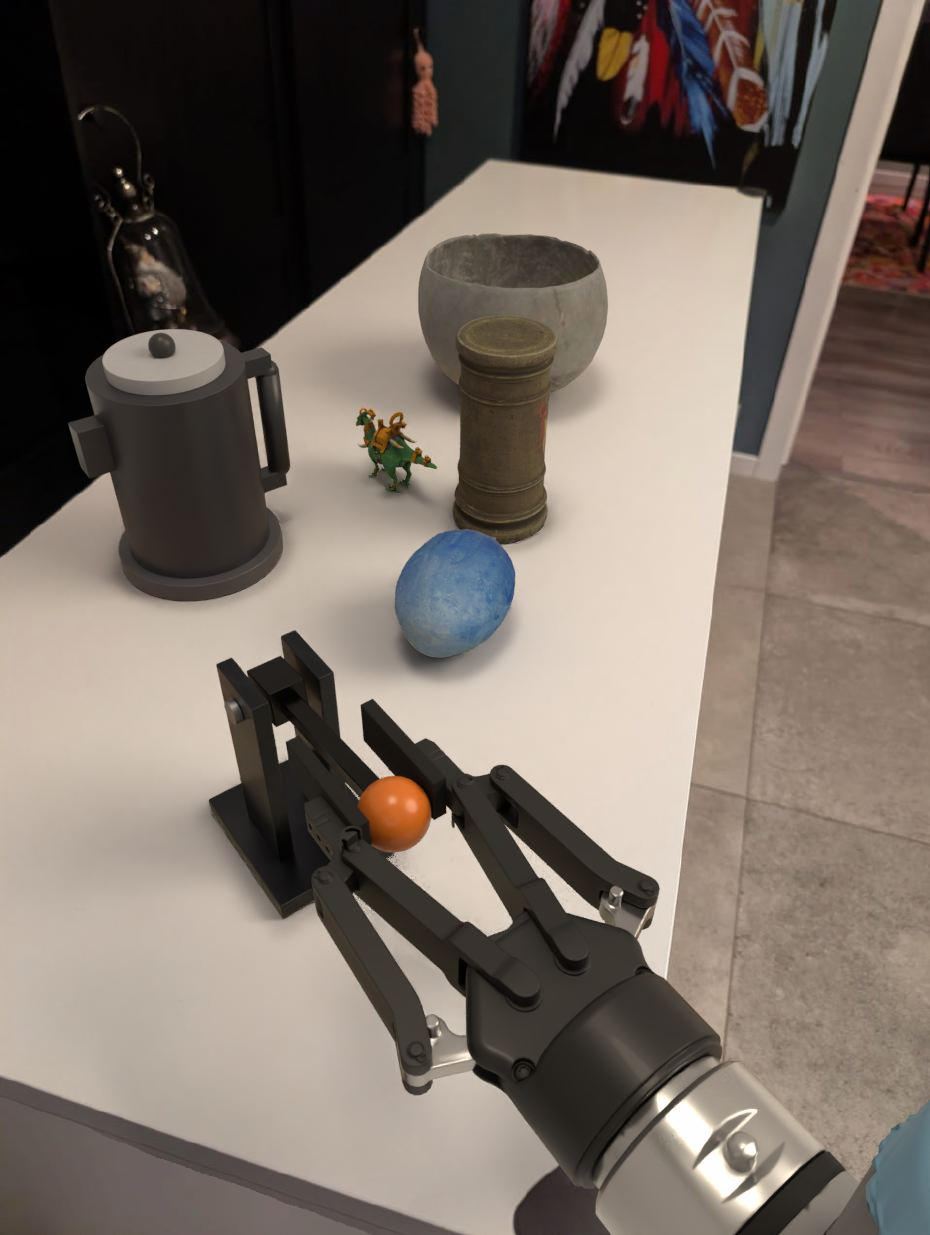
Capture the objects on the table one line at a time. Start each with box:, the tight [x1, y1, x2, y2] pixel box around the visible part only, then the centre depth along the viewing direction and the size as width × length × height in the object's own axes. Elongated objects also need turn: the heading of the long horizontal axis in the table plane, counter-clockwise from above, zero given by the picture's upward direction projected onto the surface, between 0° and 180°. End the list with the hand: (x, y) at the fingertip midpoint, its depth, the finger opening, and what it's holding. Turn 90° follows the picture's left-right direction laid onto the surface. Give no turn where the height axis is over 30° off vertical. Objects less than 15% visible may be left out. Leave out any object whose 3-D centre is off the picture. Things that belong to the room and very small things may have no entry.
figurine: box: [355, 407, 438, 492], centre depth 92 cm, size 3×12×8 cm, turn 42°
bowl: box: [417, 232, 609, 394], centre depth 105 cm, size 20×20×15 cm
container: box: [452, 315, 558, 544], centre depth 85 cm, size 9×9×18 cm
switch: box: [246, 655, 432, 853], centre depth 50 cm, size 15×4×4 cm, turn 36°
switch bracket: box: [208, 630, 395, 919], centre depth 58 cm, size 10×8×15 cm
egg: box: [394, 529, 516, 659], centre depth 76 cm, size 9×9×15 cm
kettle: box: [68, 328, 291, 602], centre depth 79 cm, size 17×14×20 cm
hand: (332, 738), depth 49 cm, fingers closed on switch, 4 cm apart
